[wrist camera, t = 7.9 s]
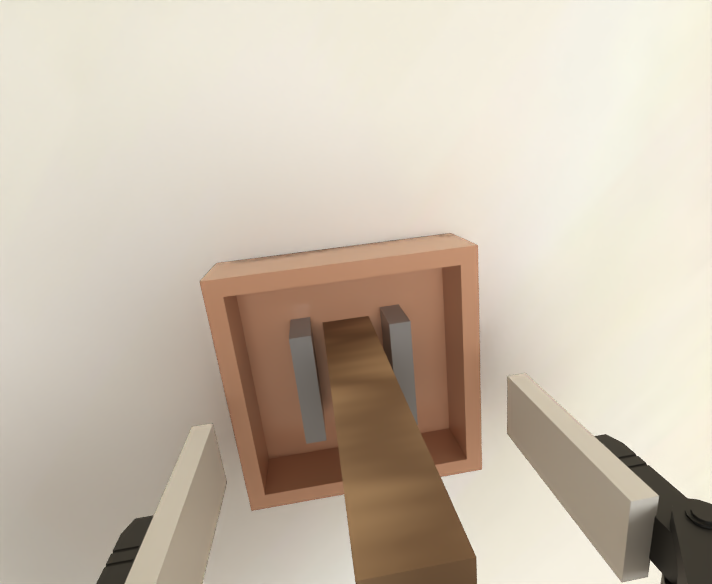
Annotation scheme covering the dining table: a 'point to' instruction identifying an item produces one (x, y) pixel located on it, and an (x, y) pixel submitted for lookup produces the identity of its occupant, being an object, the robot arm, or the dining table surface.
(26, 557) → the dining table surface
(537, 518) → the dining table surface
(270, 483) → the square slotted tray
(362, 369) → the tapered wooden plank
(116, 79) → the dining table surface
